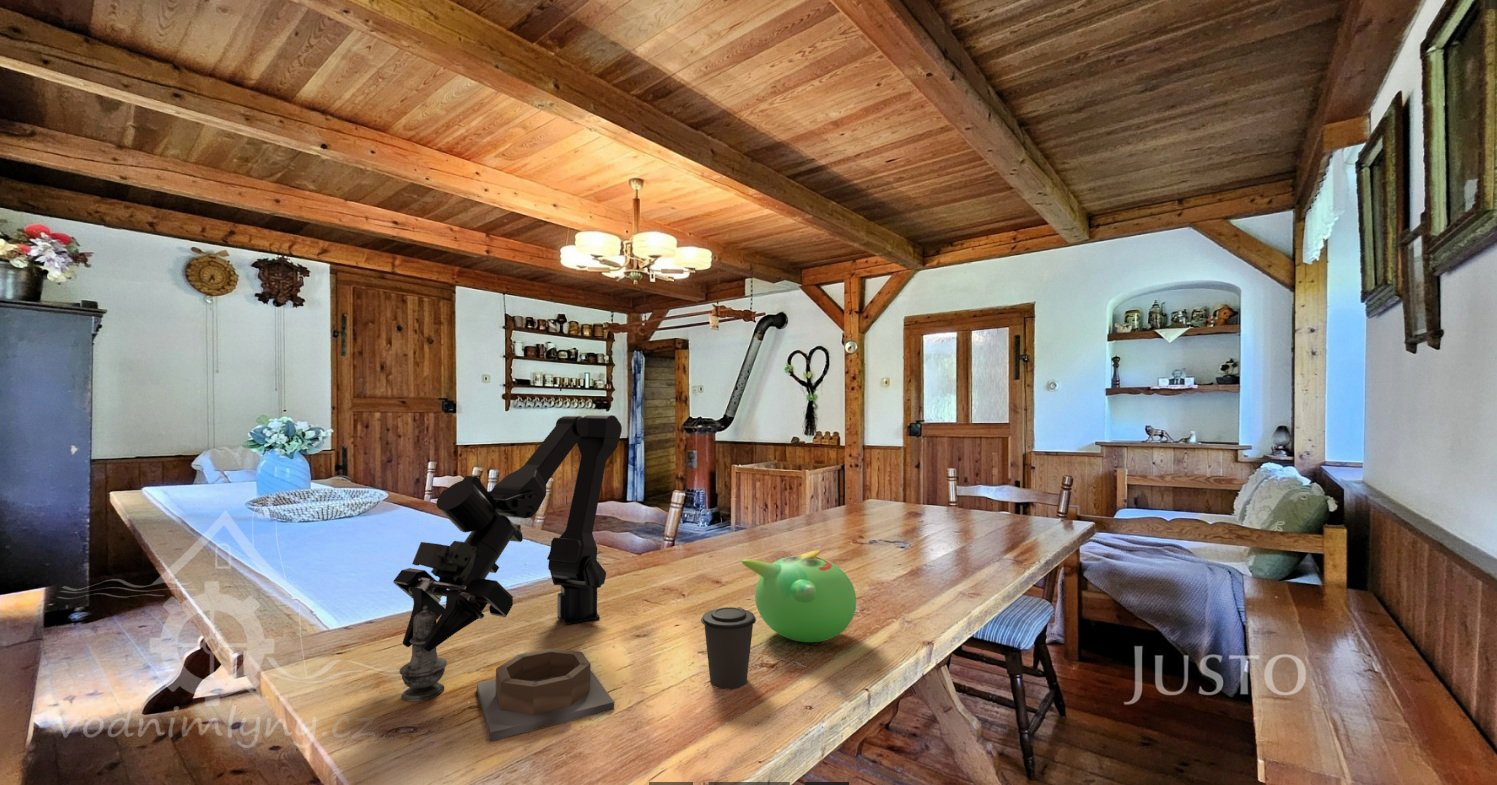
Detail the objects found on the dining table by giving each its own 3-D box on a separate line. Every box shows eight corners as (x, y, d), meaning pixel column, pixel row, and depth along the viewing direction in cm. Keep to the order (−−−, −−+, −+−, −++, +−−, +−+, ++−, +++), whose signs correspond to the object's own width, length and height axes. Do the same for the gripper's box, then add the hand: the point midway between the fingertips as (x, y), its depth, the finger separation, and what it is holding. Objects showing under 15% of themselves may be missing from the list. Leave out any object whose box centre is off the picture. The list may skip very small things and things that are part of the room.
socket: (584, 667, 90) (584, 637, 90) (614, 709, 77) (614, 674, 78) (476, 690, 83) (477, 657, 83) (490, 741, 70) (491, 702, 70)
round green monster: (873, 638, 102) (873, 553, 103) (815, 668, 90) (815, 571, 91) (792, 614, 115) (792, 538, 115) (731, 638, 102) (732, 552, 103)
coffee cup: (763, 673, 88) (763, 605, 89) (745, 697, 81) (745, 623, 81) (713, 665, 91) (713, 600, 91) (691, 688, 83) (691, 616, 84)
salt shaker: (426, 704, 79) (428, 613, 79) (388, 700, 80) (390, 610, 80) (456, 684, 84) (458, 599, 85) (420, 681, 86) (422, 597, 86)
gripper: (406, 514, 90) (329, 609, 80) (499, 523, 83) (427, 629, 72) (449, 555, 97) (383, 647, 87) (538, 566, 90) (478, 669, 79)
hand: (415, 647), depth 81 cm, fingers closed on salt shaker, 4 cm apart
